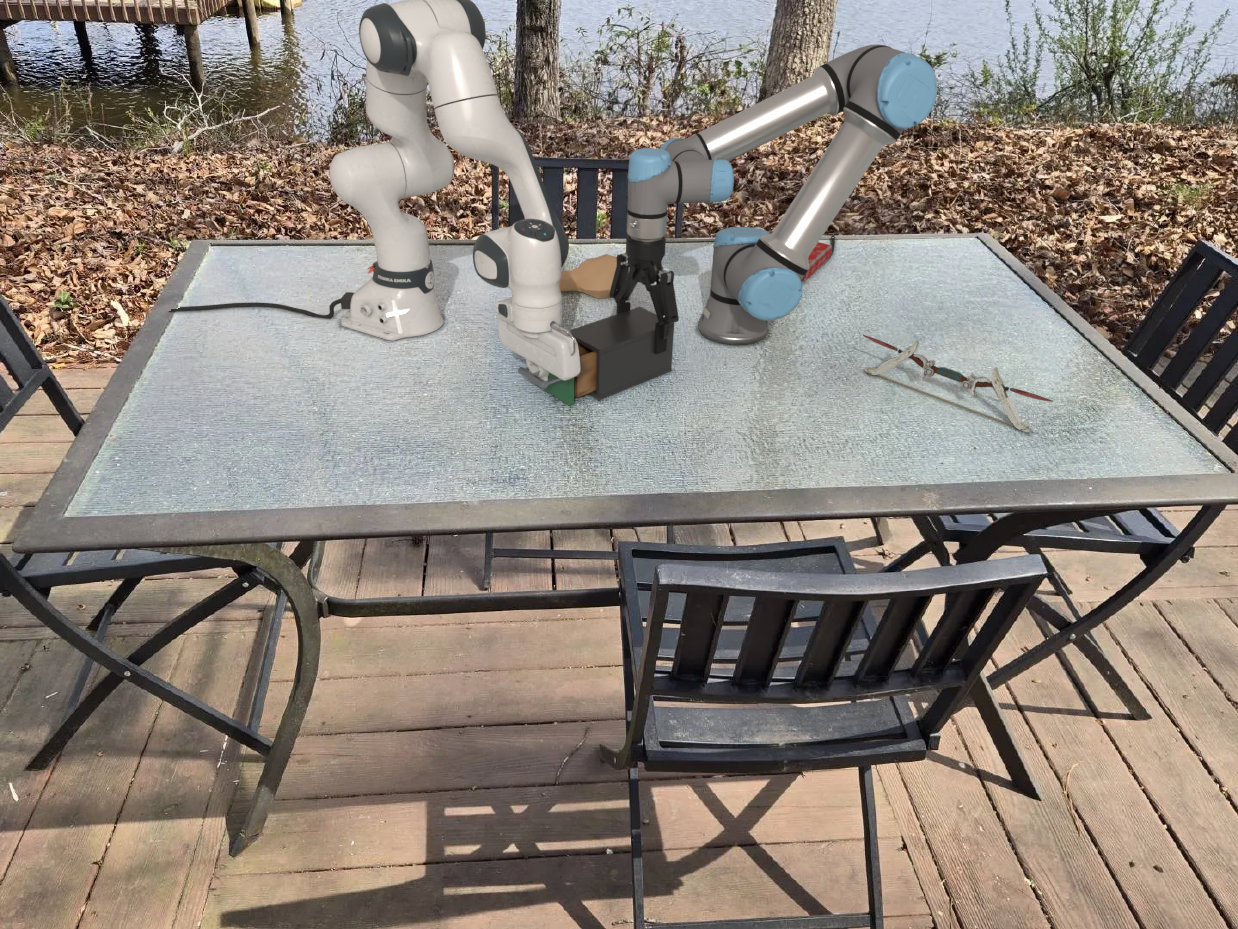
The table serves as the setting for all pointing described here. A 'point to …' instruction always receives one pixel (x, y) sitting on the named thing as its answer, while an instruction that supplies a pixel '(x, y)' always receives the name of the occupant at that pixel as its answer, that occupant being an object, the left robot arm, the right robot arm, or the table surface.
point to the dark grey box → (625, 350)
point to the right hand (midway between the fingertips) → (641, 342)
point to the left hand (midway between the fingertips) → (539, 382)
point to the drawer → (573, 386)
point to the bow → (967, 383)
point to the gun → (817, 258)
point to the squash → (591, 276)
